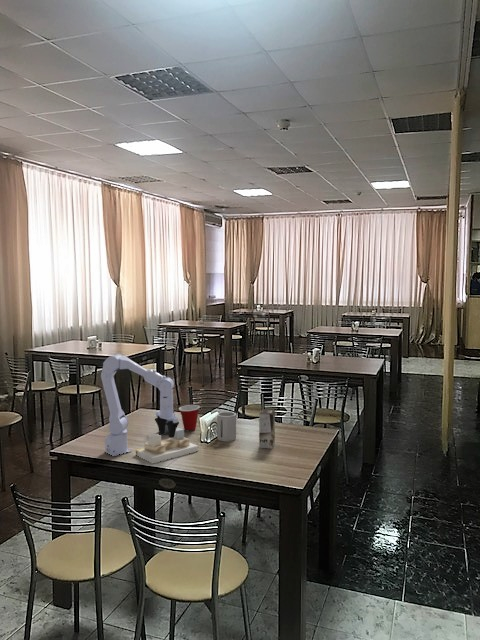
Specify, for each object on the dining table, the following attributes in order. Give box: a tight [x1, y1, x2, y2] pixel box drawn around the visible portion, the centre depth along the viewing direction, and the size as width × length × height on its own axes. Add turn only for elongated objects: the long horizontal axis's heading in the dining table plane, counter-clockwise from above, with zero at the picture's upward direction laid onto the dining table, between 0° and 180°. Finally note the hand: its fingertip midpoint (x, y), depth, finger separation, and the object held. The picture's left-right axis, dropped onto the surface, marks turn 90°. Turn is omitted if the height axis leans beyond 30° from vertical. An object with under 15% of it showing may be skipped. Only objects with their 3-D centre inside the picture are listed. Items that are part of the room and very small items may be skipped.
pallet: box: [143, 436, 190, 455], centre depth 234 cm, size 18×9×3 cm, turn 132°
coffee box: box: [258, 408, 276, 449], centre depth 244 cm, size 9×6×16 cm
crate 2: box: [172, 427, 185, 440], centre depth 238 cm, size 4×4×4 cm
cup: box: [216, 411, 237, 442], centre depth 256 cm, size 9×9×12 cm
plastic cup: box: [178, 404, 200, 431], centre depth 270 cm, size 11×11×12 cm
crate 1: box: [147, 433, 162, 446], centre depth 230 cm, size 4×4×4 cm
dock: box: [135, 441, 199, 464], centre depth 234 cm, size 24×14×2 cm, turn 132°
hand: (166, 435), depth 234 cm, fingers open, 7 cm apart
